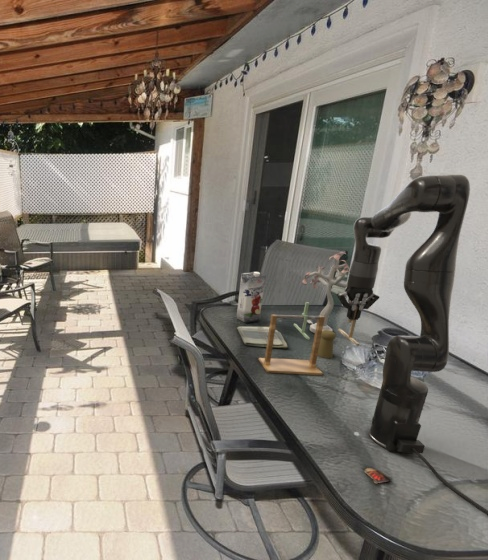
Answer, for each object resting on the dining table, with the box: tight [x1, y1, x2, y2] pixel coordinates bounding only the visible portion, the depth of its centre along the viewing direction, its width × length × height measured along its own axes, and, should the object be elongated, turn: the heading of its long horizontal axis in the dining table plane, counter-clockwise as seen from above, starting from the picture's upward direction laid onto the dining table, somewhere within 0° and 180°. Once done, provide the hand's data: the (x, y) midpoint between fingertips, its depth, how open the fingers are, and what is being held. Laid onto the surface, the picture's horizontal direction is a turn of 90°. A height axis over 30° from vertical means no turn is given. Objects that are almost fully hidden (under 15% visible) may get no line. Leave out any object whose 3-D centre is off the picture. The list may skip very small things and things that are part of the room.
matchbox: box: [363, 467, 392, 485], centre depth 91 cm, size 5×5×1 cm
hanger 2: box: [337, 306, 360, 347], centre depth 130 cm, size 12×1×13 cm, turn 172°
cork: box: [317, 330, 337, 359], centre depth 149 cm, size 6×6×11 cm
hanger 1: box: [293, 301, 311, 341], centre depth 135 cm, size 12×1×13 cm, turn 172°
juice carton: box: [236, 271, 267, 324], centre depth 184 cm, size 9×10×27 cm
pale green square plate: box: [236, 326, 289, 350], centre depth 166 cm, size 19×18×3 cm
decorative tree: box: [301, 251, 350, 334], centre depth 168 cm, size 28×24×40 cm
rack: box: [258, 313, 325, 376], centre depth 139 cm, size 10×20×23 cm, turn 82°
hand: (352, 318), depth 129 cm, fingers closed on hanger 2, 1 cm apart
